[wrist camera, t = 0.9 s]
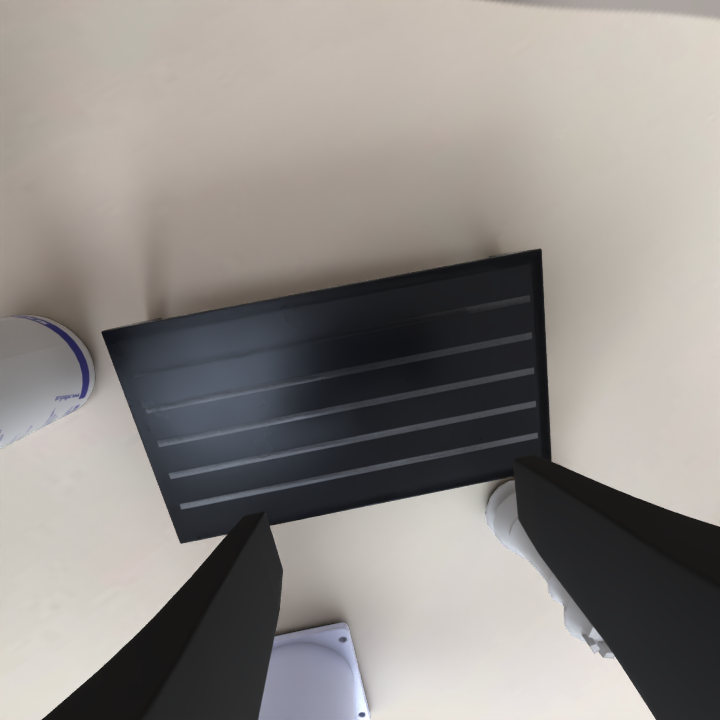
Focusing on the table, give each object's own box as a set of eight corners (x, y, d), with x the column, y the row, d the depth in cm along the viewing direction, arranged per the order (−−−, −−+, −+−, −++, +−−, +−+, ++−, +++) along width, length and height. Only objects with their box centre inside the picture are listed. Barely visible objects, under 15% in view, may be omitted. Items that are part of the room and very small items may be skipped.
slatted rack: (516, 437, 20) (552, 469, 17) (206, 498, 20) (179, 544, 17) (502, 253, 18) (542, 248, 14) (146, 320, 17) (100, 331, 14)
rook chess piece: (472, 491, 21) (552, 616, 13) (540, 462, 21) (661, 572, 13) (494, 545, 22) (580, 691, 14) (559, 518, 22) (681, 651, 14)
